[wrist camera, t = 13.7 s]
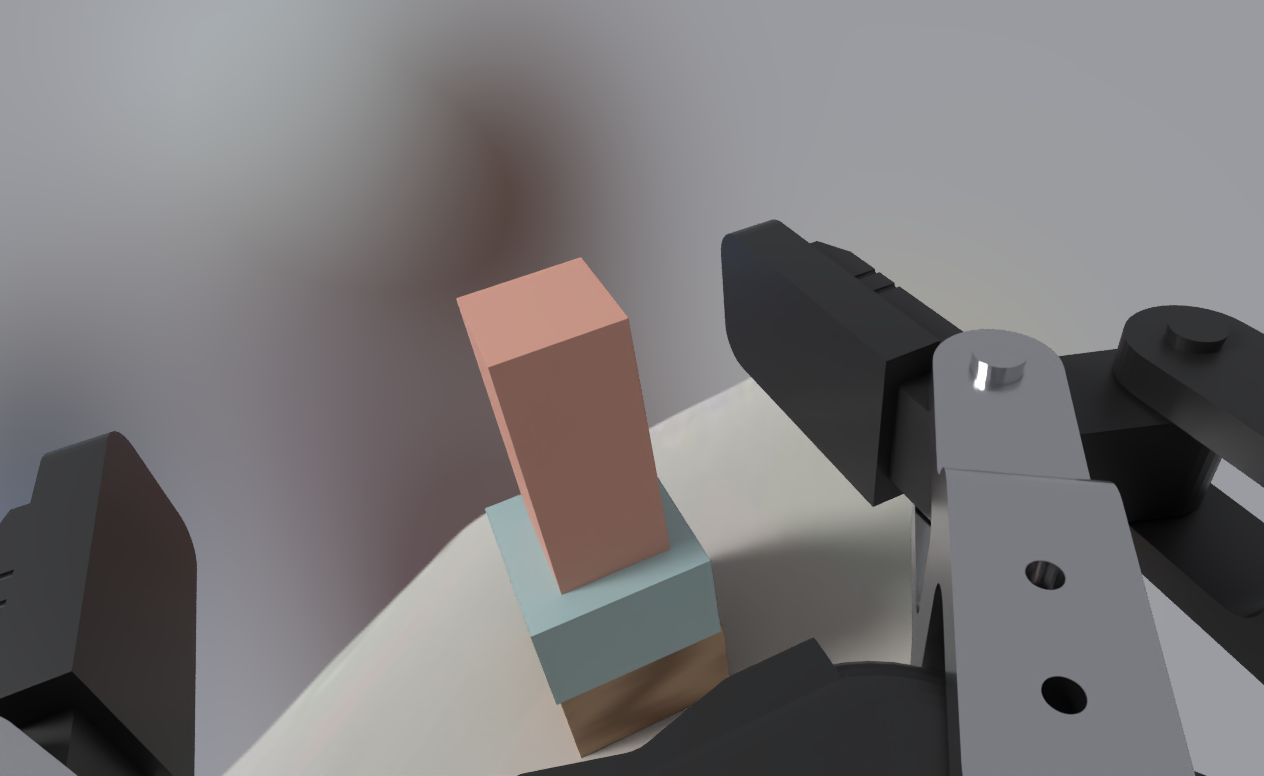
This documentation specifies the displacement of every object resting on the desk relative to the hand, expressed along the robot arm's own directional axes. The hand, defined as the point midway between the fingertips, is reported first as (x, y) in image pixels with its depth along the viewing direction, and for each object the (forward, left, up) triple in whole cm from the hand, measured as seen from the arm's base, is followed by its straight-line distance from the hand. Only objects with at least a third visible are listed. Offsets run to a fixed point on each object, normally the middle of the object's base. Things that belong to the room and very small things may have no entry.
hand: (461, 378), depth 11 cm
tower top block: (+4, +16, -26) cm, 31 cm away
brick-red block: (+4, +16, -21) cm, 27 cm away
